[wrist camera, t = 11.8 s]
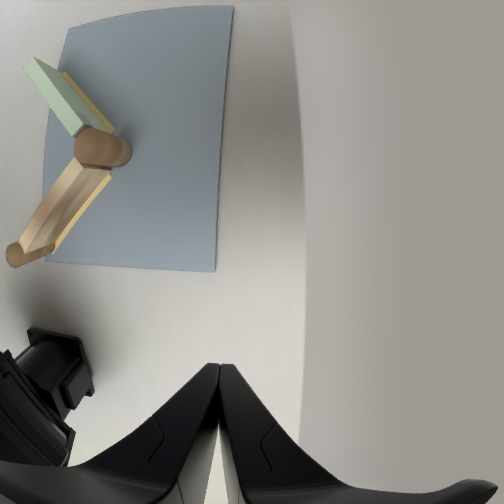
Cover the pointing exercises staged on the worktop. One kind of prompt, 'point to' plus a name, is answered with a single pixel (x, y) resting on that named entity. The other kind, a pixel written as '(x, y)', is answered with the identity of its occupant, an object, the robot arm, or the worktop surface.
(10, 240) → the worktop surface
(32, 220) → the wooden wall with posts
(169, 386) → the worktop surface
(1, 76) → the worktop surface
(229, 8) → the board
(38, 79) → the fence panel
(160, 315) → the worktop surface
